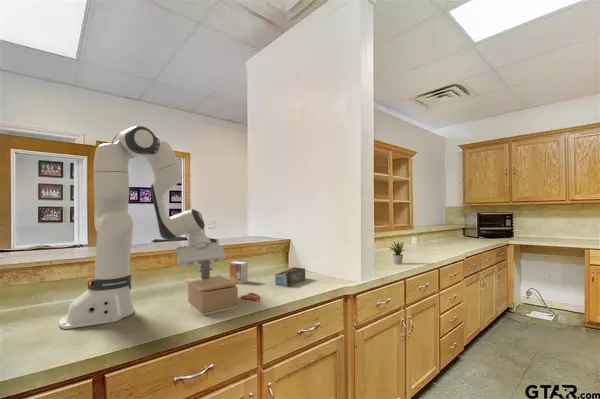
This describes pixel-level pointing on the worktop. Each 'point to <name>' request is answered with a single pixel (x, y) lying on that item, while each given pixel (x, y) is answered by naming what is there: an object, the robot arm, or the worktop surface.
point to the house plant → (397, 253)
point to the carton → (213, 299)
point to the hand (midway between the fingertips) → (205, 270)
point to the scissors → (253, 298)
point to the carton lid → (209, 280)
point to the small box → (239, 272)
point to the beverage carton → (290, 277)
